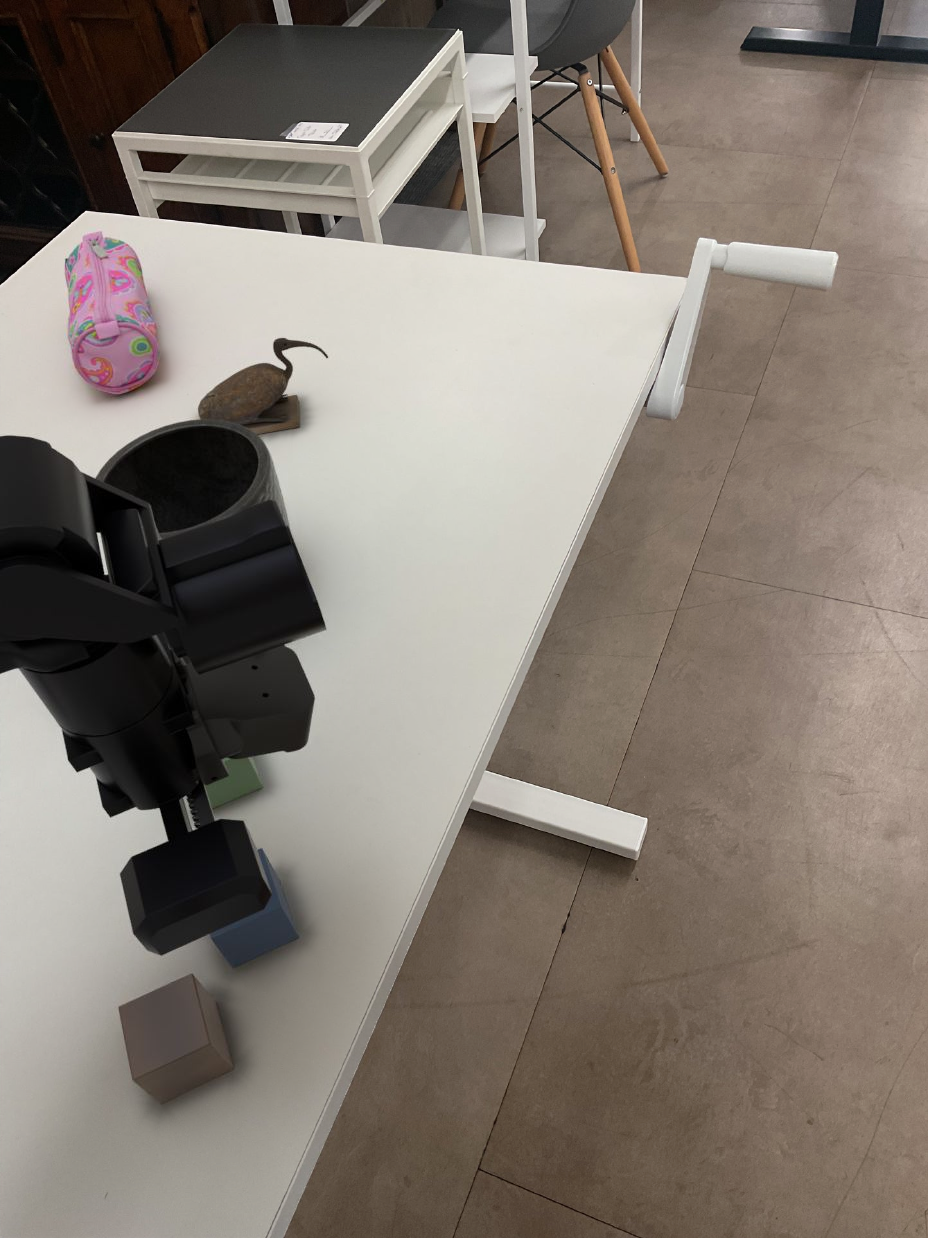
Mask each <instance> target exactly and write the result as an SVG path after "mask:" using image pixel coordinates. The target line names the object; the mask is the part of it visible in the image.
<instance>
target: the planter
mask: <svg viewBox="0 0 928 1238" xmlns="http://www.w3.org/2000/svg"><path fill="white" fill-rule="evenodd" d="M95 478H96V479H98V480H100V481H102V482H104V483H106V484H109V485H111V486H113V487H115V488H117V489H119V490H122V491H124V492H126V493H128V494H130V495H132V496H135V497H137V498H139V499H141V500H143V501H145V502H147V503H149V504H150V505H151V509H152V513H153V517H154V521H155V525H156V528H157V530H158V532H159V534H160V536H161V538H162V539H165V538H168V537H171V536H174V535H177V534H180V533H183V532H186V531H189V530H192V529H195V528H198V527H201V526H204V525H207V524H210V523H213V522H216V521H219V520H222V519H225V518H228V517H230V516H233V515H234V514H236V513H238V512H240V511H241V510H243V509H245V508H248V507H250V506H253V505H256V504H259V503H262V502H265V501H268V500H274V501H276V502H277V504H278V507H279V509H280V512H281V514H282V517H283V520H284V522H285V525H286V526H287V525H288V526H289V529H290V530H291V526H290V521H289V516H288V511H287V508H286V504H285V501H284V495H283V493H282V488H281V484H280V481H279V478H278V473H277V470H276V467H275V464H274V460H273V457H272V454H271V452H270V450H269V448H268V446H267V445H266V443H265V441H264V440H263V439H262V438H261V437H260V436H259V434H256V433H254V432H253V431H252V430H250V429H249V428H247V427H244V426H242V425H240V424H237V423H233V422H230V421H223V420H216V419H200V418H199V419H190V420H184V421H178V422H174V423H171V424H167V425H164V426H161V427H159V428H155V429H153V430H151V431H149V432H146V433H145V434H142V435H140V436H138V437H137V438H135V439H133V440H132V441H129V442H128V443H127V444H125V445H124V446H123V447H121V448H120V449H118V450H117V452H115V453H114V454H113V455H111V457H110V458H109V459H108V460H107V461H106V462H105V463H104V465H103V466H102V467H101V468H100V469H99V471H98V473H97V474H96V476H95Z"/></svg>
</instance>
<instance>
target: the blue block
mask: <svg viewBox="0 0 928 1238" xmlns="http://www.w3.org/2000/svg"><path fill="white" fill-rule="evenodd" d="M257 851H258V854H259V857H260V860H261V863H262V866H263V868H264V871H265V874H266V877H267V880H268V883H269V886H270V889H271V892H272V896H271V898H270V900H269V902H268V904H267V905H266V907H265V909H264V910H262V911H260V912H257V913H255V914H253V915H251V916H249V917H246V918H244V919H242V920H240V921H237V922H235V923H233V924H231V925H229V926H226V927H224V928H222V929H220V930H217V931H215V932H213V933H211V934H209V936H210V939H211V941H212V943H213V944H214V945H215V946H216V948H217V949H218V951H219V952H220V953H221V954H222V956H223V957H224V959H225V960H226V962H228V964H229V966H230V967H231V968H232V969H234V968H236V967H238V966H241V965H243V964H245V963H247V962H249V961H252V960H253V959H255V958H258V957H260V956H263V955H265V954H267V953H269V952H271V951H273V950H275V949H277V948H280V947H282V946H284V945H286V944H289V943H291V942H293V941H295V940H297V939H299V938H300V934H299V932H298V928H297V926H296V923H295V920H294V917H293V914H292V912H291V908H290V905H289V902H288V900H287V897H286V894H285V891H284V888H283V885H282V882H281V879H280V878H279V876H278V874H277V873H276V870H275V868H274V867H273V864H272V863H271V862H270V860H269V858H268V856H267V854H266V853H265V851H264V849H263V848H262V847H261V848H257Z"/></svg>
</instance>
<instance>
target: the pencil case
mask: <svg viewBox="0 0 928 1238" xmlns="http://www.w3.org/2000/svg"><path fill="white" fill-rule="evenodd" d="M64 278H65V284H66V287H67V293H68V294H67V295H68V296H67V298H68V307H69V315H68V323H67V340H68V342H69V345H70V349H71V359H72V362H73V365H74V368H75V370H76V372H77V373H78V374H79V376H80V377H81V378H82V380H83V381H85V382H86V383H87V384H88V385H89V386H91V387H93V388H95V389H96V390H98V391H102V392H105V393H108V394H112V395H122V394H125V393H128V392H131V391H133V390H135V389H136V388H139V387H140V386H142V385H144V384H145V383H146V382H147V381H149V380H150V379H151V378H152V376H154V374H155V373H156V371H157V369H158V366H159V362H160V357H161V356H160V347H159V344H158V335H159V334H158V332H159V331H158V327H157V323H156V321H155V318H154V317H153V315H152V309H151V302H150V299H149V295H148V292H147V288H146V284H145V281H144V280H145V279H144V275H143V269H142V265H141V262H140V259H139V256H138V254H137V252H136V251H135V250H134V249H133V247H132V246H130V244H128V243H126V242H125V241H123V240H120V239H117V238H112V237H108V236H105V237H104V235H103V231H95V232H90V233H87V234H84V235H82V241H81V242H80V243H79V244H77V245H76V246H75V248H74V249H73V250H72V251H71V253H70V254H69V256H68V257H67V258H65V259H64Z"/></svg>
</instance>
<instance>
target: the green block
mask: <svg viewBox="0 0 928 1238" xmlns="http://www.w3.org/2000/svg"><path fill="white" fill-rule="evenodd" d="M223 760H224V762H225V764H226V767H227V770H228V773H229V776H228V777H226V778H223V779H221V780H219V781H216V782H214V783H212V784H209V785H205V788H206V791H207V794H208V798H209V801H210V804H211V807H212V810H213V809H215V808H217V807H220V806H222V805H224V804H227V803H229V802H231V801H234V800H237V799H239V798H240V797H243V796H246V795H248V794H251V793H252V792H255V791H257V790H259V789H262V788H264V785H263V782H262V779H261V777H260V774H259V770H258V768H257V765H256V763H255V759H254V757H248V758H243V759H230V758H224V759H223Z"/></svg>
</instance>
